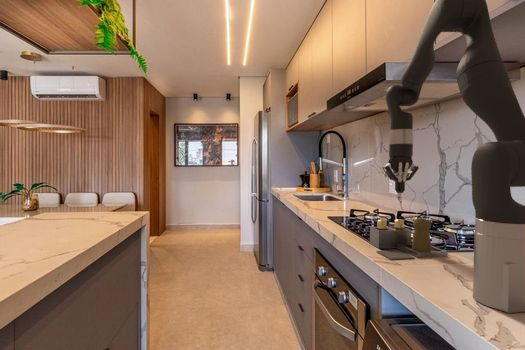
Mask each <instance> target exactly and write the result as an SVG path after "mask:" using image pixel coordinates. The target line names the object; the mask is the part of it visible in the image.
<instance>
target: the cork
mask: <svg viewBox="0 0 525 350" xmlns="http://www.w3.org/2000/svg"><path fill="white" fill-rule="evenodd" d="M412 225H413V227H414V231H413V237H412V241H411V244H412V248H411V249H412V250H415V251H417V252H430V251H431V246H432V244H431V235H430V229H431V228H432V223H431V221H430V219H427V218H424V217H423V218H415V219H414V220H413V221H412Z"/></svg>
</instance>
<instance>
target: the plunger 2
mask: <svg viewBox="0 0 525 350" xmlns="http://www.w3.org/2000/svg"><path fill="white" fill-rule="evenodd" d="M393 222H394V226H393V227H394V229H396V230H404V228H405V220H404V219H400V218H399V219H398V218H397V219H394V221H393Z"/></svg>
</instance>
